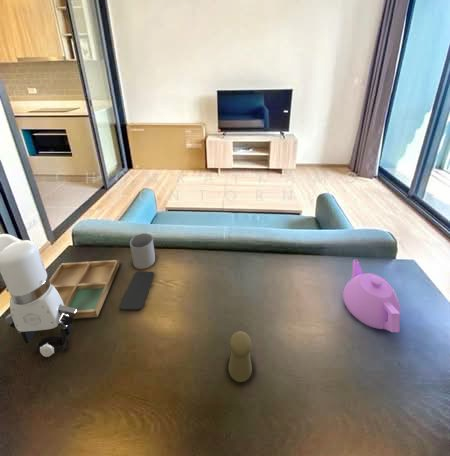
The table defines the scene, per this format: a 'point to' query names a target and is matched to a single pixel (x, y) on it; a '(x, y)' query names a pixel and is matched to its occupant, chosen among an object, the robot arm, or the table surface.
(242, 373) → the olive pawn figure
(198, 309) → the table surface
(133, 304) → the phone
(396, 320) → the teapot
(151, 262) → the cup
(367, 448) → the table surface
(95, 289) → the tray
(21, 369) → the table surface
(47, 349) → the watch
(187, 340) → the table surface
